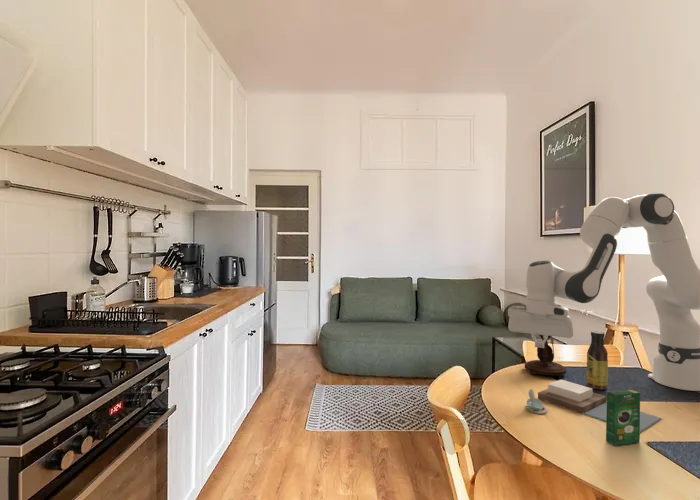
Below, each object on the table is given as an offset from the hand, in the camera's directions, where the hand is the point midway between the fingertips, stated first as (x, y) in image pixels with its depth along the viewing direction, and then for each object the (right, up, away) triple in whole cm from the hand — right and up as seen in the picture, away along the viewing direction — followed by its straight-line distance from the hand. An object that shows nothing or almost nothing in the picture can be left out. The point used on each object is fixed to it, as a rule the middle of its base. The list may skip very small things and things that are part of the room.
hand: (539, 347), depth 133 cm
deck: (+6, -15, -9) cm, 19 cm away
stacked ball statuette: (+11, -15, +19) cm, 27 cm away
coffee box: (+4, -16, -35) cm, 39 cm away
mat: (+14, -15, -21) cm, 29 cm away
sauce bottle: (+22, -15, +3) cm, 27 cm away
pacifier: (-9, -16, -16) cm, 24 cm away
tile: (+6, -13, -8) cm, 17 cm away
